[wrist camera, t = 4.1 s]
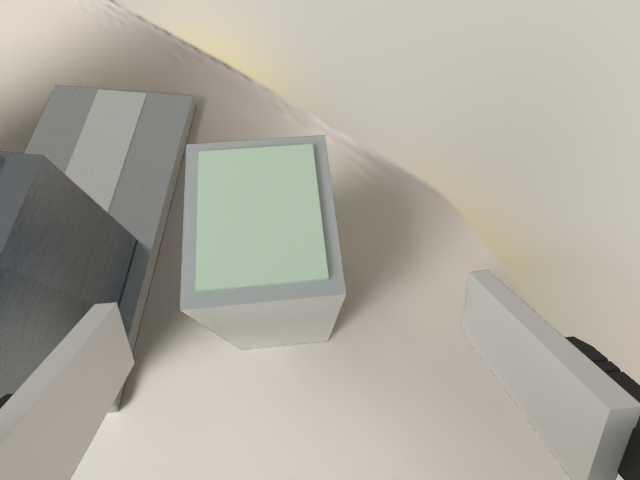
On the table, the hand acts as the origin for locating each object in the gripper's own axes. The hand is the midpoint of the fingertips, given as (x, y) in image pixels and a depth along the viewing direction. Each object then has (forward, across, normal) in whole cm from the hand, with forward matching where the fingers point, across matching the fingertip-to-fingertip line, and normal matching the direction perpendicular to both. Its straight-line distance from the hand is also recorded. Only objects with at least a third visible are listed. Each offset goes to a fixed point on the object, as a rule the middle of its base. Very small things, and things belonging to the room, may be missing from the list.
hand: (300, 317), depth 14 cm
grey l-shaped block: (+12, -13, +1) cm, 18 cm away
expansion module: (+8, -1, -4) cm, 9 cm away
